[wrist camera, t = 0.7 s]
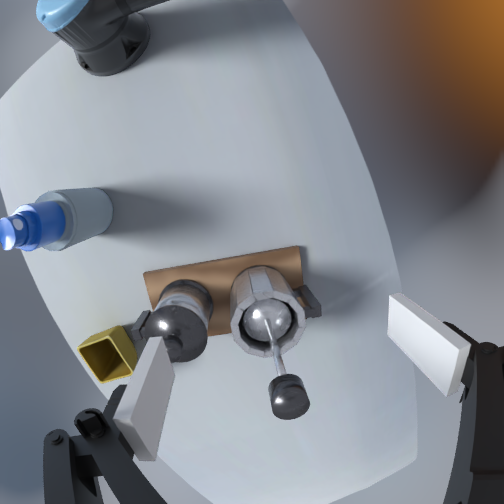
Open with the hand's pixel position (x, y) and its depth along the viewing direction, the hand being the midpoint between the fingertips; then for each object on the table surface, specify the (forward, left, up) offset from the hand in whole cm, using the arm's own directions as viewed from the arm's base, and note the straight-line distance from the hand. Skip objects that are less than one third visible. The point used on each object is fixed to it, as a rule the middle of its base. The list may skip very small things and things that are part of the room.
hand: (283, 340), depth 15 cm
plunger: (+11, 0, -24) cm, 27 cm away
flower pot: (+17, -29, -37) cm, 50 cm away
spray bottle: (-9, -27, -37) cm, 47 cm away
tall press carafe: (+11, +2, -35) cm, 37 cm away
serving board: (+11, -5, -36) cm, 38 cm away
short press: (+11, -14, -35) cm, 39 cm away
